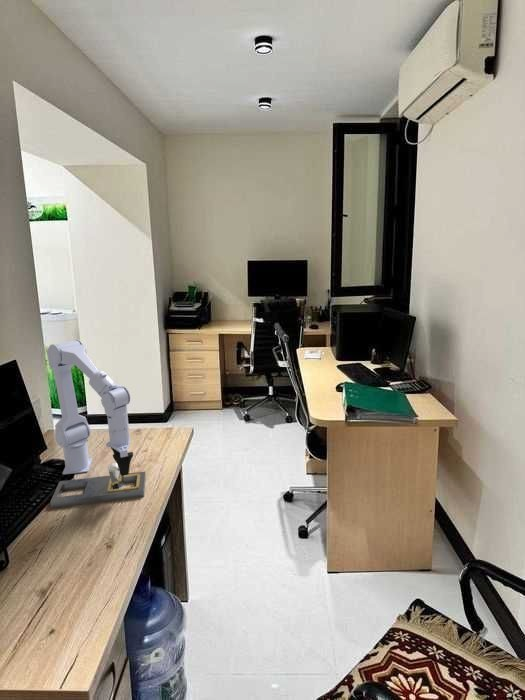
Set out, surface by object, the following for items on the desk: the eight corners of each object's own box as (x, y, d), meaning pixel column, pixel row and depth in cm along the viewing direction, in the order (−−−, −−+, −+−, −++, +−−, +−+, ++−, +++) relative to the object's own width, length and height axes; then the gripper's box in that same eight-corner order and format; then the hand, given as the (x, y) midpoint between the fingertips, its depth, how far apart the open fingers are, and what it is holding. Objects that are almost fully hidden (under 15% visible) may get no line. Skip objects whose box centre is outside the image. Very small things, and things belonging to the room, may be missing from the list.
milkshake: (127, 493, 139) (123, 463, 137) (109, 494, 139) (105, 464, 137) (130, 485, 144) (127, 456, 142) (113, 487, 143) (109, 457, 141)
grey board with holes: (60, 487, 144) (59, 480, 144) (145, 477, 149) (145, 470, 149) (51, 508, 133) (50, 500, 132) (144, 496, 138) (143, 489, 137)
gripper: (101, 421, 142) (106, 462, 146) (107, 439, 130) (112, 483, 133) (125, 417, 145) (129, 457, 148) (133, 434, 132) (137, 477, 136)
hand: (122, 469), depth 141 cm, fingers open, 7 cm apart
